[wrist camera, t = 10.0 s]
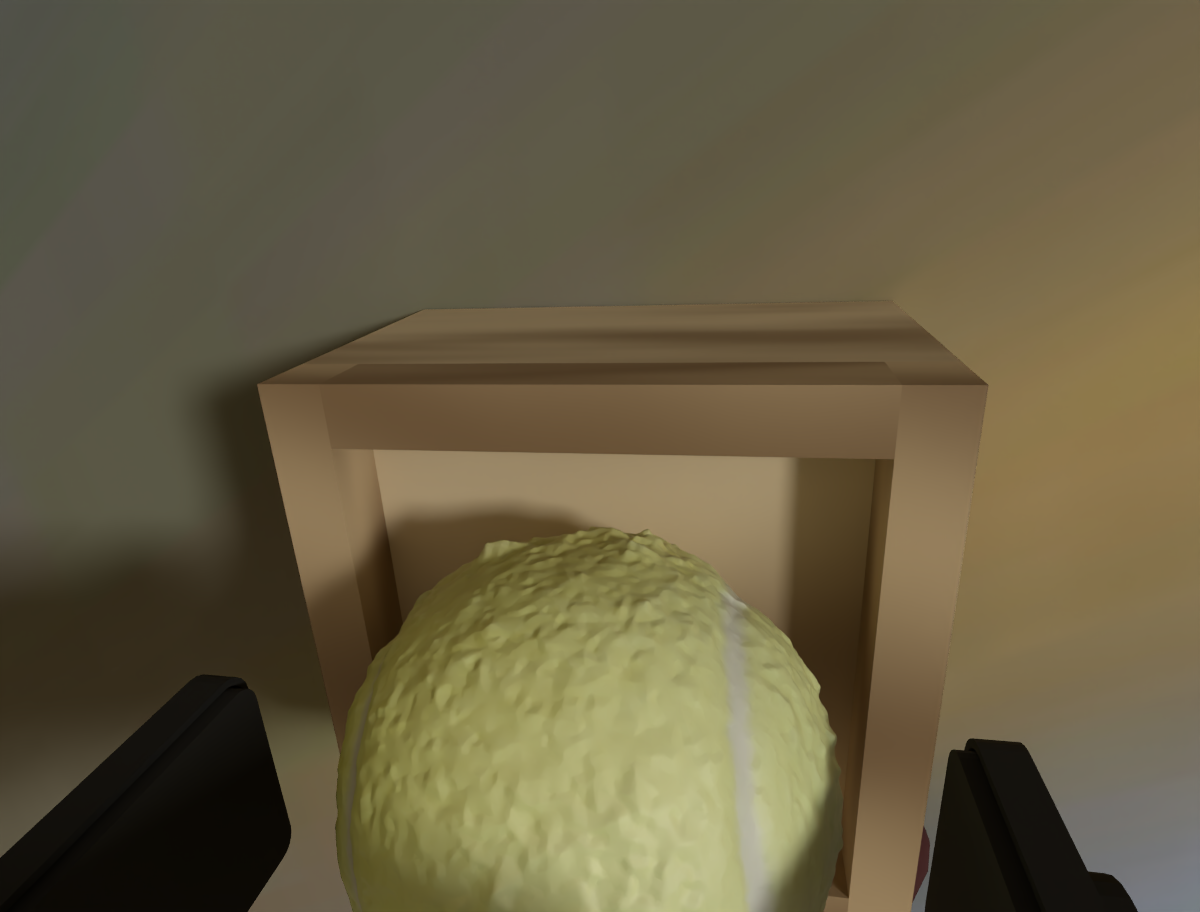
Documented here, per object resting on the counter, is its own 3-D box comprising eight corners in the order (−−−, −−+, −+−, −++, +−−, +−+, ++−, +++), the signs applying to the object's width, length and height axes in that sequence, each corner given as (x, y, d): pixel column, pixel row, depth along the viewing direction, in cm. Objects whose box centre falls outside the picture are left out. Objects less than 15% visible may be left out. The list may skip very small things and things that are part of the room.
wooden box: (423, 309, 16) (257, 383, 11) (892, 300, 15) (988, 385, 9) (472, 675, 20) (367, 875, 14) (854, 704, 18) (905, 947, 13)
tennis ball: (321, 1235, 8) (948, 1287, 7) (100, 712, 7) (783, 604, 5) (509, 831, 14) (860, 802, 13) (405, 514, 13) (775, 433, 12)
